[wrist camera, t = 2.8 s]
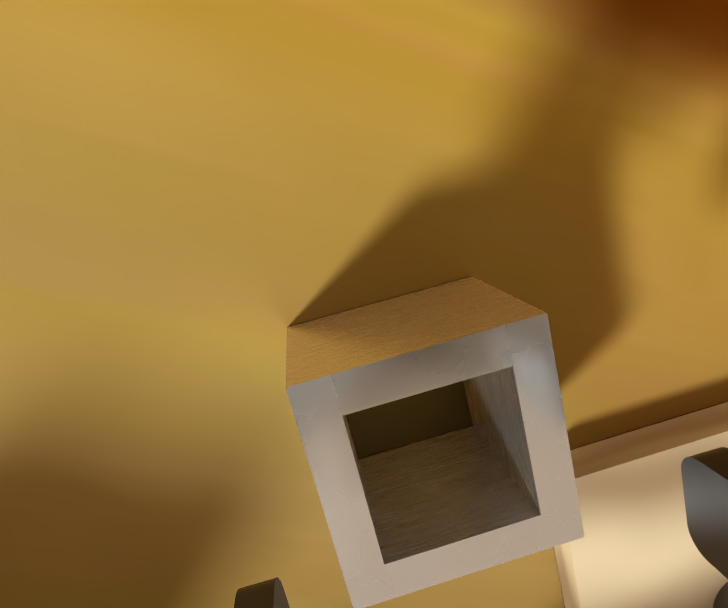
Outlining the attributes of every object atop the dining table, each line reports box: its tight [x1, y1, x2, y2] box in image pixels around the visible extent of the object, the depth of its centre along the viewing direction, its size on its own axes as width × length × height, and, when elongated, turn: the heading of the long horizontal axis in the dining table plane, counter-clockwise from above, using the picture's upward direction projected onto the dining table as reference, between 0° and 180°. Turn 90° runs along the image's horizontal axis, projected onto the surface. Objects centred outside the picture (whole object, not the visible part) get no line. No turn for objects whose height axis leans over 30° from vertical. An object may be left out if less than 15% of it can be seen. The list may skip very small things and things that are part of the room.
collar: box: [286, 276, 585, 608], centre depth 15 cm, size 6×6×5 cm
